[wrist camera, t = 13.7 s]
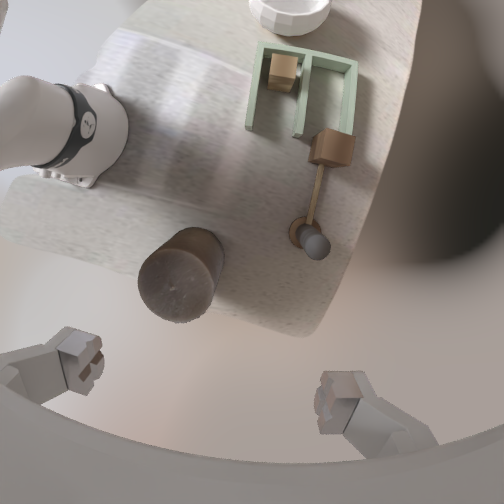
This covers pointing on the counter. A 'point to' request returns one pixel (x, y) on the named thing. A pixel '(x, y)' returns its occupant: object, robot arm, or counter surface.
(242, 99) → the counter surface
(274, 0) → the white deep bowl
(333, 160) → the tethered walnut block
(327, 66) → the lane rack
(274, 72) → the oak block
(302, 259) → the counter surface
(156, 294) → the pillar candle
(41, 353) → the robot arm
